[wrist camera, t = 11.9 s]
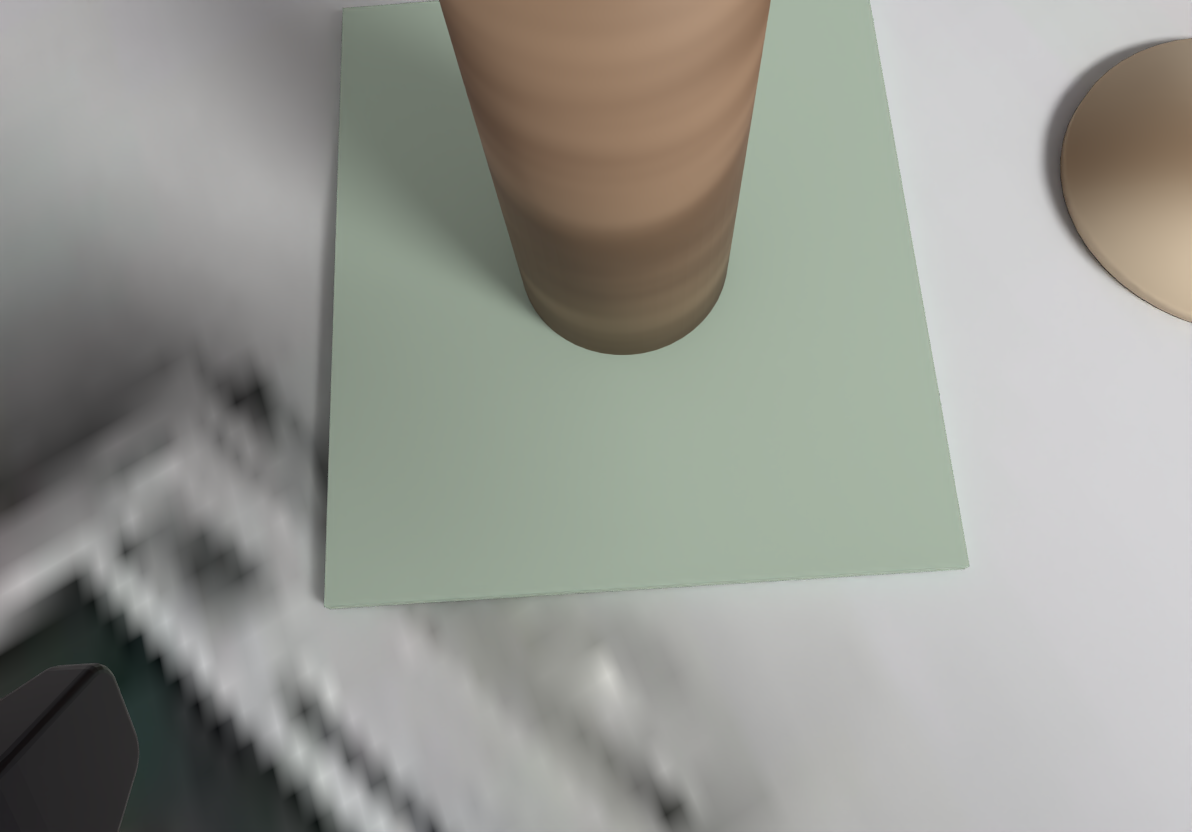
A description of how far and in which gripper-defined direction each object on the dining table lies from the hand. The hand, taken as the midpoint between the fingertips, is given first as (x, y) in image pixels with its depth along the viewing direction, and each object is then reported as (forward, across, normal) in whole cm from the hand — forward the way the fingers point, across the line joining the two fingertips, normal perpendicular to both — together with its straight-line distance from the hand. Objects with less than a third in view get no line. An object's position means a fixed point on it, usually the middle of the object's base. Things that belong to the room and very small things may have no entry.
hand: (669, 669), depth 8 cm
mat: (+17, 0, +2) cm, 17 cm away
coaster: (+18, -15, +1) cm, 23 cm away
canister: (+17, 0, +2) cm, 17 cm away
